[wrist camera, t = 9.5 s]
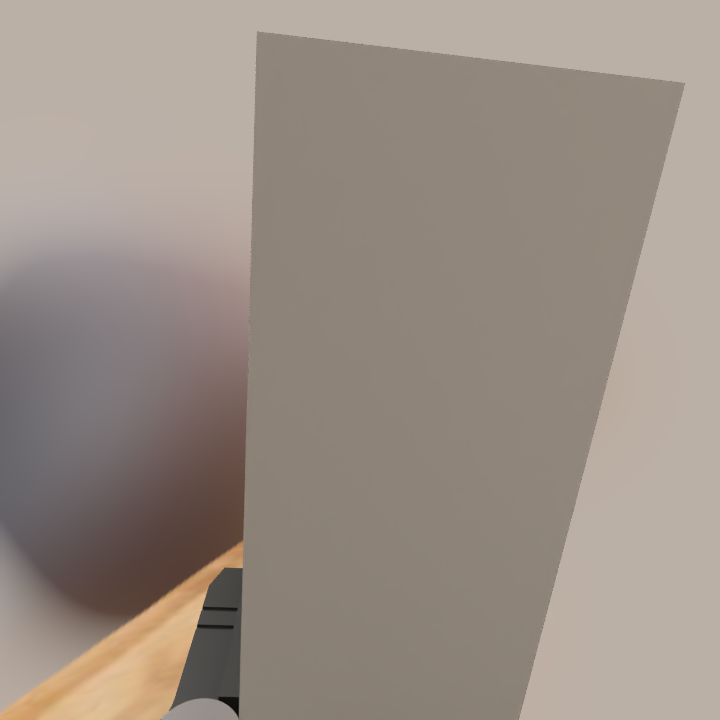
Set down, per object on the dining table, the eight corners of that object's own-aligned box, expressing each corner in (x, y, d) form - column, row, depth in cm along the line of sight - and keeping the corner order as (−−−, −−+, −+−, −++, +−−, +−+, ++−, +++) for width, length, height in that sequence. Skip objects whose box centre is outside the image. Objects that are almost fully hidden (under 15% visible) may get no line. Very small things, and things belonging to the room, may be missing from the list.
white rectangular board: (353, 1352, 10) (686, 83, 3) (222, 1362, 10) (256, 32, 3) (343, 815, 18) (424, 157, 12) (272, 814, 18) (313, 145, 11)
